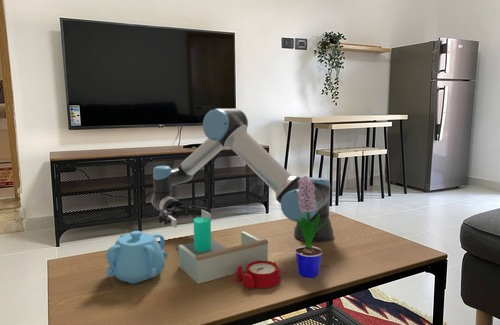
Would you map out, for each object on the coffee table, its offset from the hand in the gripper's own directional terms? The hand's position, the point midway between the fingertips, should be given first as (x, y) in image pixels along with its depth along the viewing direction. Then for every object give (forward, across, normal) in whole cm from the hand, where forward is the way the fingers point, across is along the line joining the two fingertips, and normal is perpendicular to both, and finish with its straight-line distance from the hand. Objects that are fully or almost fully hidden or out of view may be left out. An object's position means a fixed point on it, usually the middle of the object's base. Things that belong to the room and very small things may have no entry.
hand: (193, 220), depth 137 cm
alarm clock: (+37, -3, -10) cm, 38 cm away
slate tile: (+7, 0, -9) cm, 12 cm away
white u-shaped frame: (+22, 0, -9) cm, 24 cm away
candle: (+7, 0, -9) cm, 11 cm away
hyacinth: (+42, -19, -9) cm, 47 cm away
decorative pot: (+14, +25, -10) cm, 30 cm away
